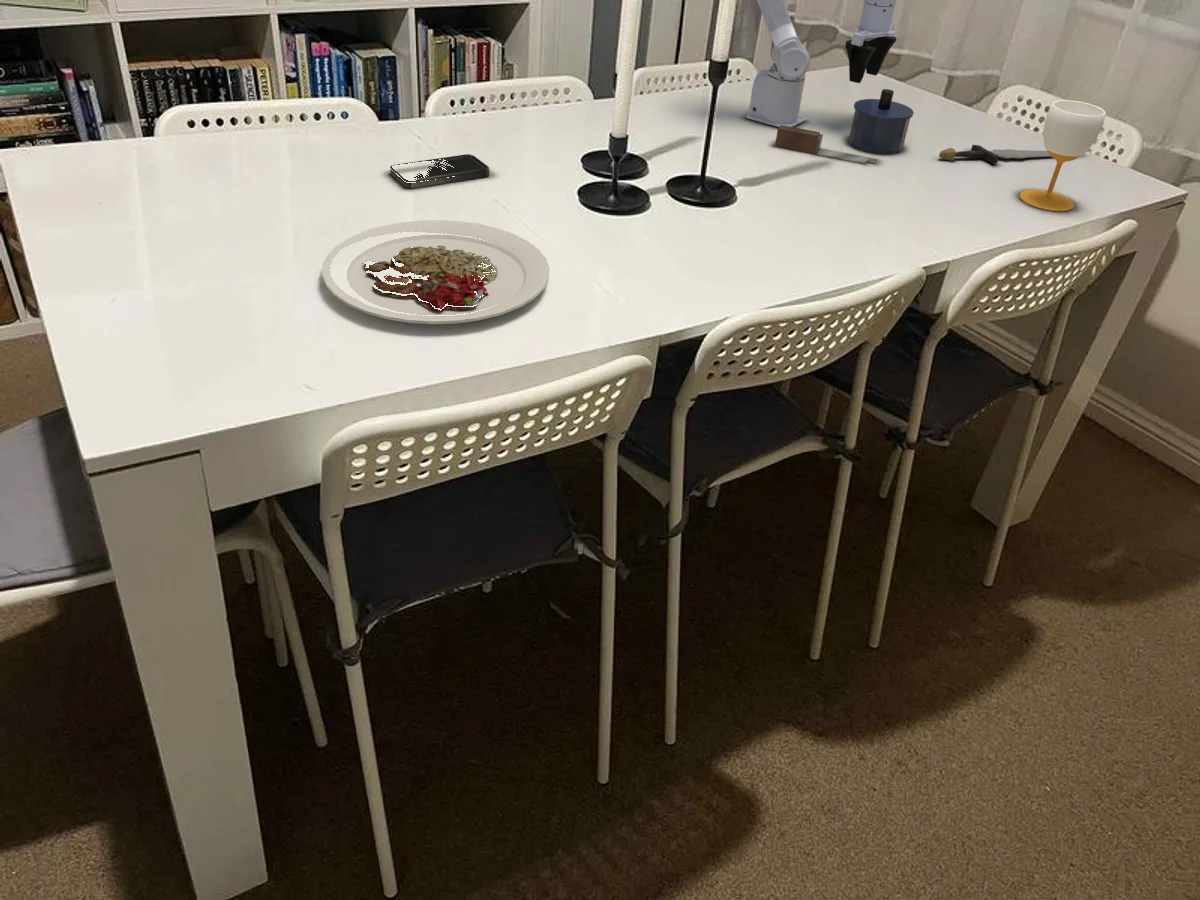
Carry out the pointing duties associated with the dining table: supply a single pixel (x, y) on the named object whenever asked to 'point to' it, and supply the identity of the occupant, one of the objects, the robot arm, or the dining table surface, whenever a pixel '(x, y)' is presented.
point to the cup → (1065, 146)
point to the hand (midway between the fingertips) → (863, 78)
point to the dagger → (991, 154)
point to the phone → (448, 171)
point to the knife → (812, 144)
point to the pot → (877, 134)
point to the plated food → (443, 272)
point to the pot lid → (884, 107)
